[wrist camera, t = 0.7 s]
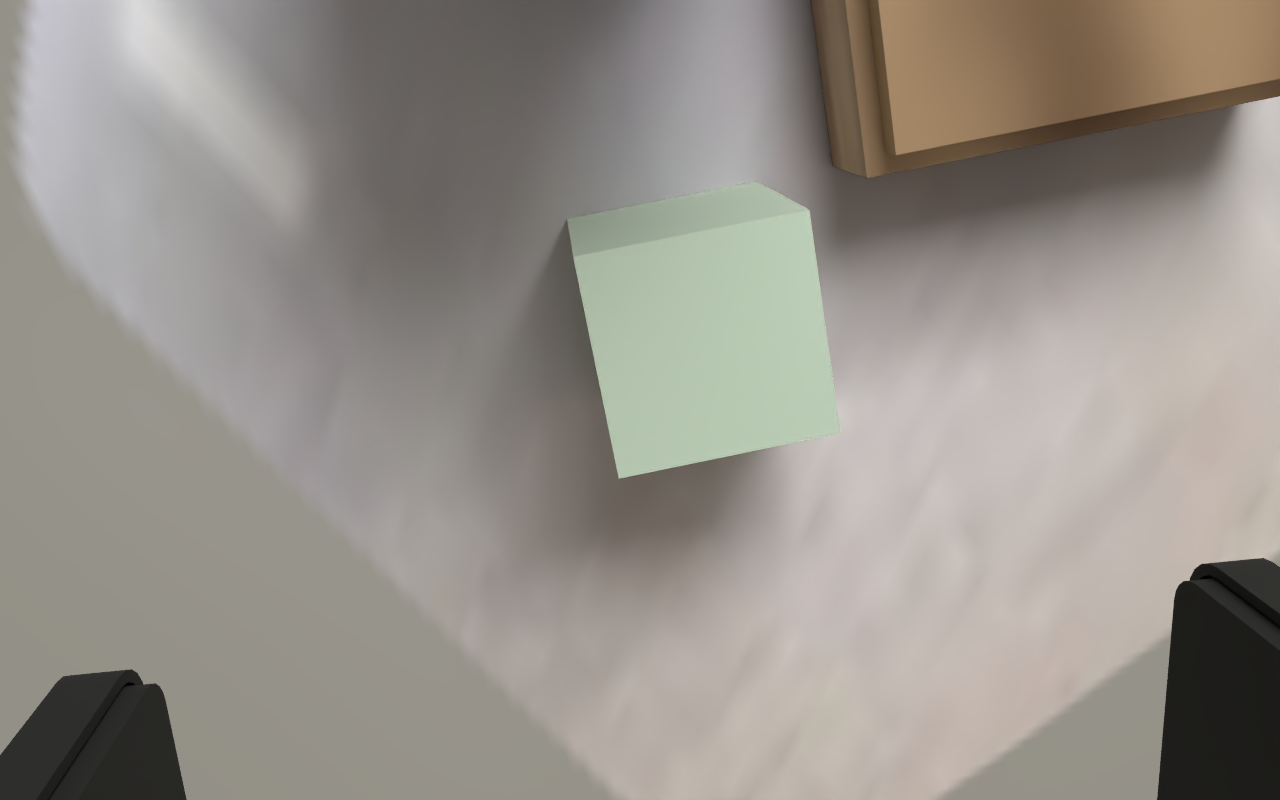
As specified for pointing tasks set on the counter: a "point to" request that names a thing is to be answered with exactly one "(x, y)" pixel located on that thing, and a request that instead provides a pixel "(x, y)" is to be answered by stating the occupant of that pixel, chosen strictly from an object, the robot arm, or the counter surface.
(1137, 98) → the walnut pedestal
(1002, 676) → the counter surface
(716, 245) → the sage block
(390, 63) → the counter surface
